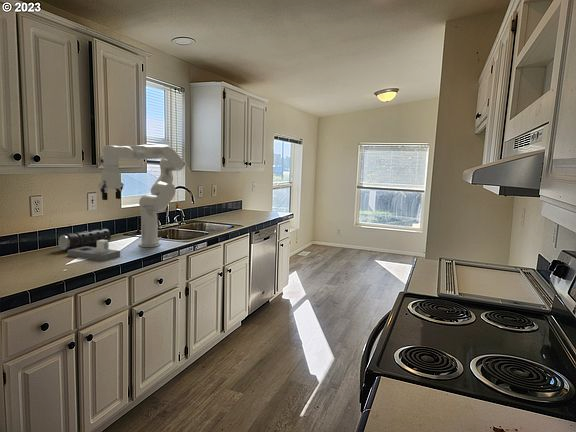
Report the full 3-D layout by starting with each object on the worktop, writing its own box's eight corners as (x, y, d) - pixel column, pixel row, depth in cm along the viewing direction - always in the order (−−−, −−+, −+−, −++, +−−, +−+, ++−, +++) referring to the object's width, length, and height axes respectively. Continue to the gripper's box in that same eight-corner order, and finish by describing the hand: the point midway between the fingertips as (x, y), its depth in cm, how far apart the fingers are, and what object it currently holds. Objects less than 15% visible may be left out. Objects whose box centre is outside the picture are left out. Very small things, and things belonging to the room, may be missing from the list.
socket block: (86, 252, 216) (86, 245, 216) (120, 257, 208) (120, 250, 208) (67, 256, 205) (67, 249, 205) (102, 261, 197) (102, 254, 197)
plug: (102, 256, 207) (102, 239, 206) (109, 257, 206) (109, 240, 205) (97, 257, 203) (96, 240, 202) (103, 258, 202) (103, 241, 201)
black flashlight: (111, 245, 237) (111, 228, 236) (68, 253, 212) (68, 235, 211) (100, 243, 241) (100, 227, 240) (57, 251, 216) (56, 233, 215)
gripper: (117, 168, 221) (118, 198, 223) (93, 167, 205) (93, 199, 207) (128, 168, 219) (128, 198, 221) (104, 168, 202) (104, 200, 205)
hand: (111, 199), depth 214 cm, fingers open, 9 cm apart
